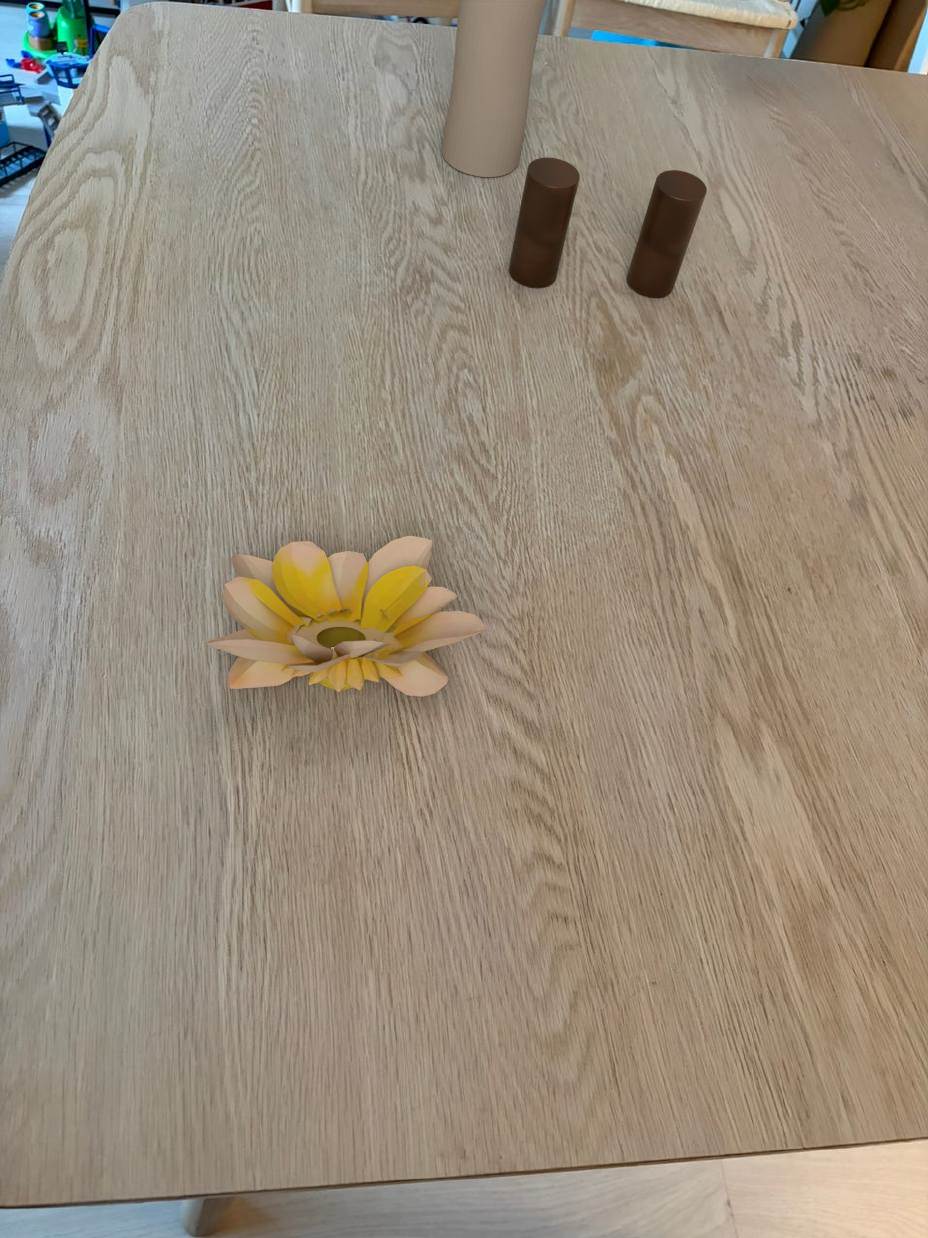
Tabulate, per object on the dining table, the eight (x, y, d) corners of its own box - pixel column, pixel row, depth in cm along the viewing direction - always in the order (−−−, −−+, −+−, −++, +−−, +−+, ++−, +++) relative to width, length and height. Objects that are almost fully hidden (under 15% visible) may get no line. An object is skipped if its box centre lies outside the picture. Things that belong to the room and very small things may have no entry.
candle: (531, 105, 100) (574, -134, 84) (514, 184, 92) (558, -64, 76) (458, 91, 100) (487, -152, 84) (435, 168, 92) (462, -84, 76)
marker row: (669, 269, 87) (702, 172, 80) (676, 299, 85) (711, 202, 78) (507, 255, 86) (525, 154, 78) (510, 286, 83) (529, 184, 76)
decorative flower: (483, 553, 65) (494, 474, 55) (478, 727, 60) (490, 673, 51) (243, 542, 64) (214, 460, 55) (222, 716, 60) (186, 659, 51)
